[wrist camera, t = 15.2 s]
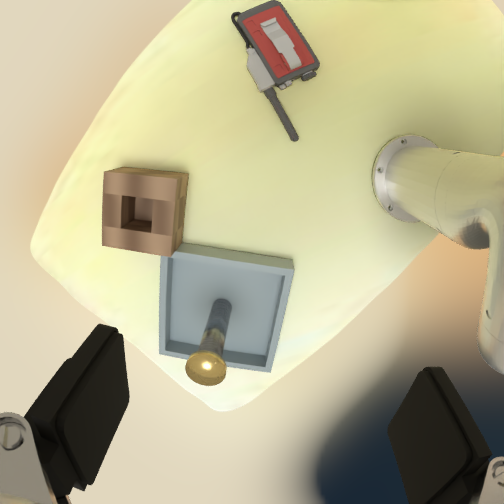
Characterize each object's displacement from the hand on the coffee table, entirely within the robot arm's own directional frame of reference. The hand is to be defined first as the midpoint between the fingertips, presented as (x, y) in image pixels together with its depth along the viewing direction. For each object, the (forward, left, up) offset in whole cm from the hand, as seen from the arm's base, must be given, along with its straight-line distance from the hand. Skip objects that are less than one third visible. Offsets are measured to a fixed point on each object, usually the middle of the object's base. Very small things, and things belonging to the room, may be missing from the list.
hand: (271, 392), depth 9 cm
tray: (+4, +18, -36) cm, 41 cm away
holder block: (+16, +4, -36) cm, 40 cm away
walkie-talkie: (+1, -17, -37) cm, 41 cm away
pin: (+4, +18, -36) cm, 40 cm away
